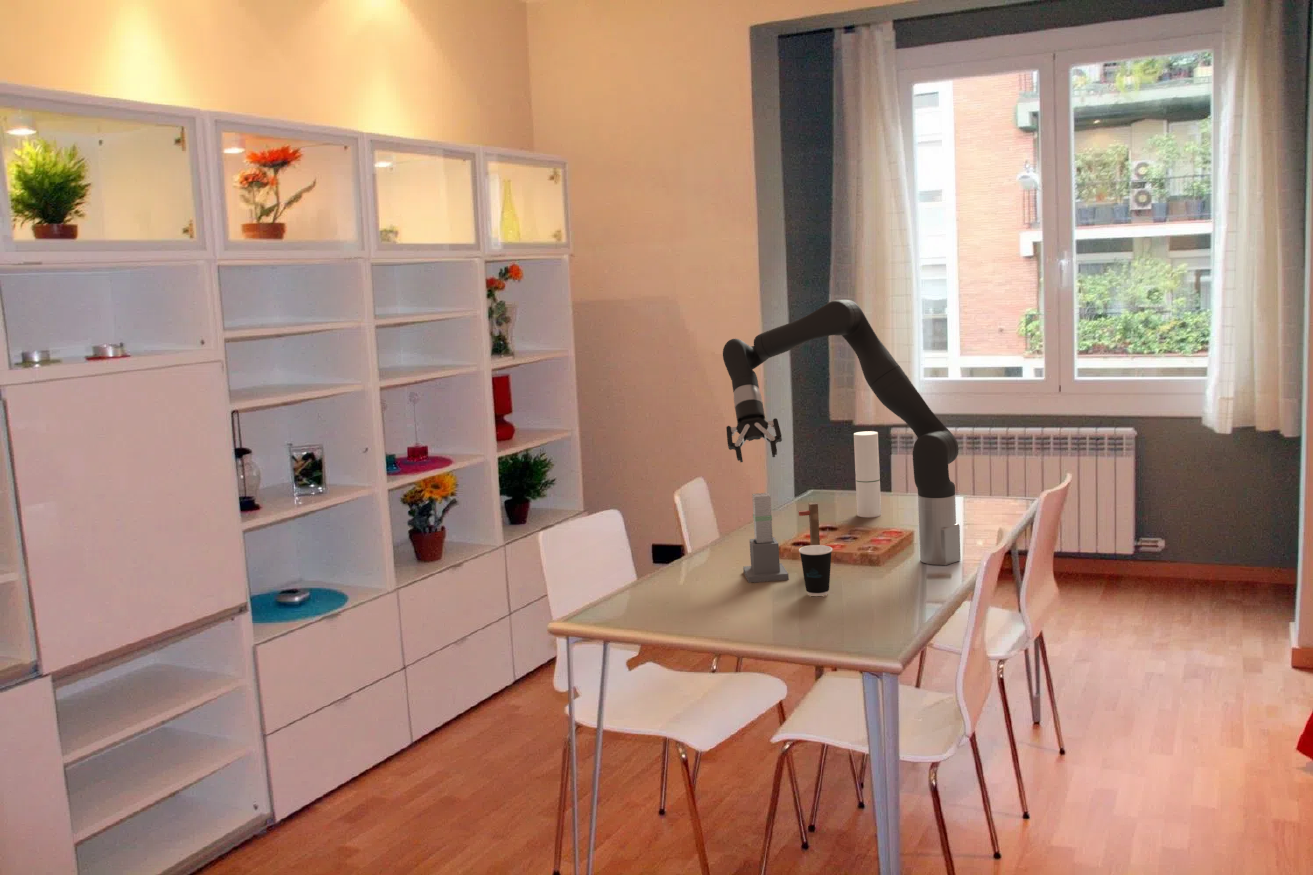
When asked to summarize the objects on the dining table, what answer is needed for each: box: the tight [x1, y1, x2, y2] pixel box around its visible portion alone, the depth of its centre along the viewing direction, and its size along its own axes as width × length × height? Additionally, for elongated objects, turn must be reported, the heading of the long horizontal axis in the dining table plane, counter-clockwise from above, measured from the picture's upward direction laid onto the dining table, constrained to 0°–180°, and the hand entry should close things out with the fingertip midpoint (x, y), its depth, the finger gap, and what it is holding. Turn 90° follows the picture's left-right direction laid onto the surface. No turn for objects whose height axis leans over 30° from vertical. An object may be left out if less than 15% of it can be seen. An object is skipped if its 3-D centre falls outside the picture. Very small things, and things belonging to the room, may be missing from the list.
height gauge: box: [798, 502, 821, 545], centre depth 290 cm, size 6×4×18 cm
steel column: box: [751, 492, 773, 544], centre depth 288 cm, size 4×4×14 cm
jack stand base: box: [742, 537, 790, 584], centre depth 290 cm, size 10×10×9 cm
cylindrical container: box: [853, 430, 882, 518], centre depth 346 cm, size 7×7×25 cm
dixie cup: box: [798, 544, 833, 597], centre depth 271 cm, size 8×8×11 cm
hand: (757, 458), depth 300 cm, fingers open, 8 cm apart
